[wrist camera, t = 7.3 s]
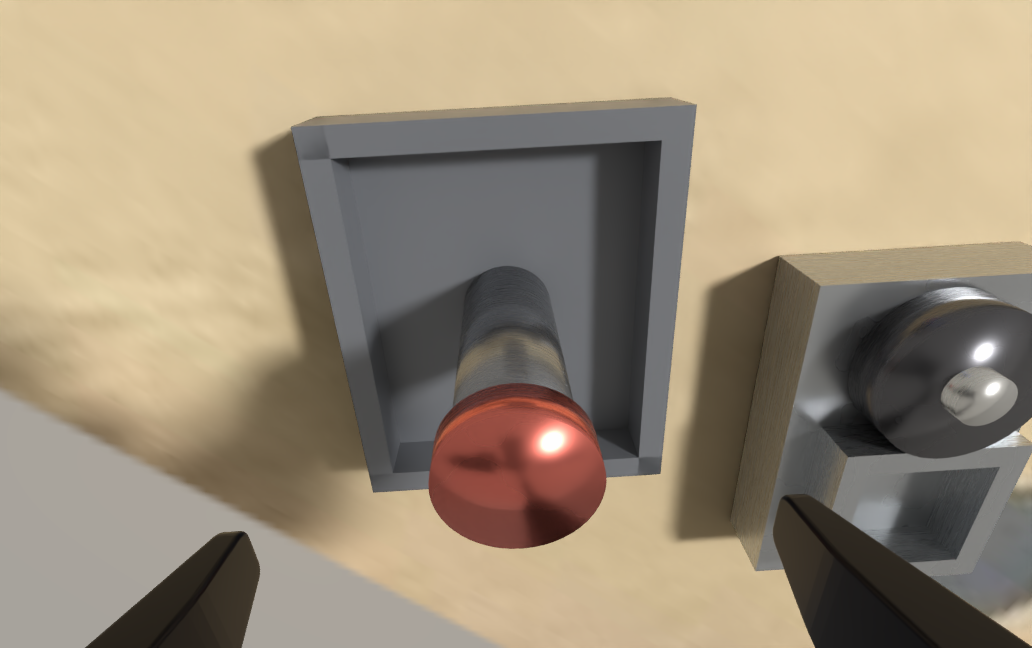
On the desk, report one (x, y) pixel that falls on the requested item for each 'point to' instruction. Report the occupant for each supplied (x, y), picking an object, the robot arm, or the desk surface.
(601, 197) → the tray
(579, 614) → the desk surface
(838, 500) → the tensioner block
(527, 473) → the lock pin
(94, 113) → the desk surface
